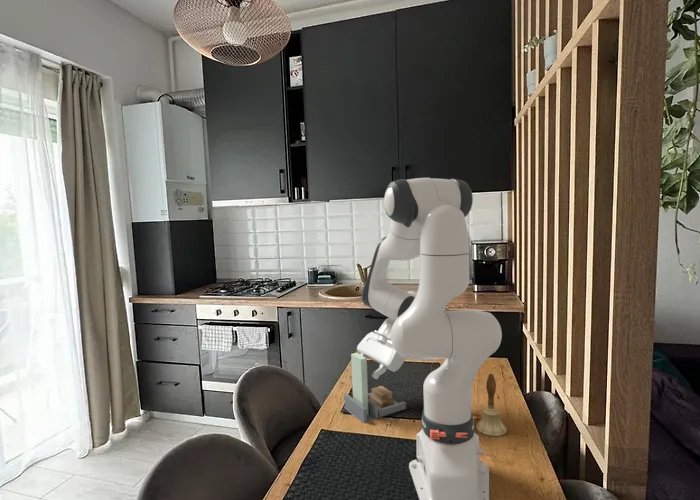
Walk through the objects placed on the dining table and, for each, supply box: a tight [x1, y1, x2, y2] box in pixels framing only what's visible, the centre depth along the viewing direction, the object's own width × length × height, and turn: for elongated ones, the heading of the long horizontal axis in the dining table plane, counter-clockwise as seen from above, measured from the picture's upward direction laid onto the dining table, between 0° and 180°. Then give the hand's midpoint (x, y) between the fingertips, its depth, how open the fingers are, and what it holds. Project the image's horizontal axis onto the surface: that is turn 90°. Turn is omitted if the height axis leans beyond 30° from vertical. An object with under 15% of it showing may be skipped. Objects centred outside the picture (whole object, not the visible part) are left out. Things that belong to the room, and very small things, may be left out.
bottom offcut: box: [370, 395, 396, 409], centre depth 130 cm, size 5×7×2 cm
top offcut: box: [370, 385, 393, 403], centre depth 130 cm, size 4×6×2 cm, turn 29°
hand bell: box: [475, 373, 508, 437], centre depth 115 cm, size 8×8×16 cm
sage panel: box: [350, 352, 369, 415], centre depth 125 cm, size 2×6×18 cm, turn 29°
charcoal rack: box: [343, 392, 407, 424], centre depth 128 cm, size 16×12×5 cm
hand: (365, 372), depth 126 cm, fingers open, 8 cm apart
